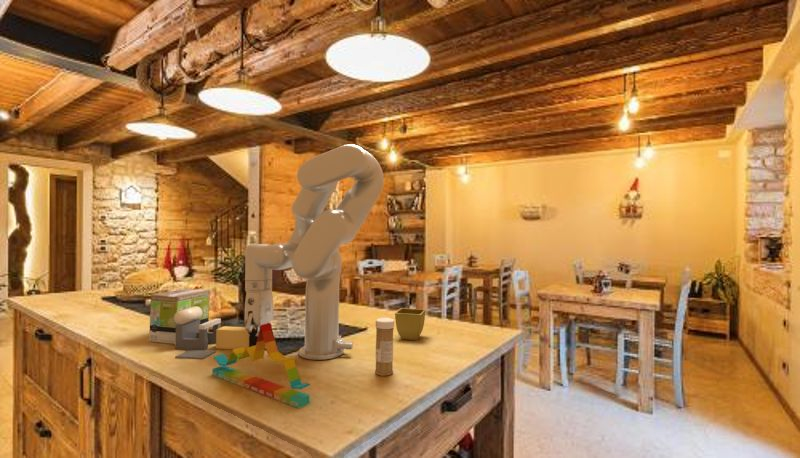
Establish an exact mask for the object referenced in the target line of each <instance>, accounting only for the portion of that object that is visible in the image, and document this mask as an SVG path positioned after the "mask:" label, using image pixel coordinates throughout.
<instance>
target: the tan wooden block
mask: <svg viewBox="0 0 800 458" xmlns="http://www.w3.org/2000/svg"><path fill="white" fill-rule="evenodd" d="M245 327H246V326H244V327H243V326H227V325H226V326H221V328H219V329H217V330H216V343H215V348H216V349H223V350H233V349H237V348H241V347H243V348H244V349H246V348H248V347H249V336H248V331H246V330H245ZM253 328H254V329H255V330H256V327H253ZM265 349H266V347H265Z"/></svg>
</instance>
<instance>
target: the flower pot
mask: <svg viewBox="0 0 800 458" xmlns="http://www.w3.org/2000/svg"><path fill="white" fill-rule="evenodd" d="M394 317H395V318H394V319H395V320H394V321H395V326H396V331H397V333H398V335H399V337H400V338H401V340H413V341H417V340H418V339H419V338H420V336H421V334H422V332H423V330H424V326H425V319H426V318H425V317H426V309H423V308H407V307H401V308H399V309H397V310H396V312H394Z"/></svg>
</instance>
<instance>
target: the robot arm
mask: <svg viewBox="0 0 800 458" xmlns="http://www.w3.org/2000/svg"><path fill="white" fill-rule="evenodd" d="M384 177H385V176H384V172H383V168H382V167H381V164H380V163H379V161H378V160H377V159H376V157H374V155H373V154H371V153H369V151H367V150H365V149H364V148H362V147H361V146H359V145H356V144H344V145H341V146H337V147H336V148H333V149H330V150H328V151H325V152H324V153H320V154H317V155H315V156H313V157H310V158H308V159H307V160H305V161H303V162H302V163H301V165H299V167H298V170H297V174H296V178H297V182H298V183H299V185H300V186H301V188H300V189H299V192H298V193H297V196H296V198H295V199H294V202H293V203H292V205H291V208H290V211H291V212H292V215H293V217H294V220H295V221H294V229H293V230H292V233H291V235H290V237H289V239H288V240H287V242H284V243H283V242H282V243H273V244H269V243H251V244H248V245H247V246H246V247H245V258H244V259H245V266H244V267H245V268H244V270H245V272H244V274H245V275H244V276H245V278H244V280H245V281H244V283H245V284H244V286H245V287H244V291H245V294H246V295H245V299H244V300H245V301H244V324H245V326H244V327H245V330H246V331H248V336H249V347H251V346H255V345H256V344H257V339H258V335H259V330H260V326H261V325H263V324H268V323H271V321H273V320H274V318H275V317H274V296H273V291H272V290H273V270H274V271H281V270H286V269H290V268H292V269H293V271H294V274H296V276H298V277H299V278H301V279H303V280H306V284H305V296H304V297H305V299H304V300H305V304H304V308H305V309H304V311H305V312H304V346H302V347H300V348H299V350H298V355H299V357H300V358H303V359H306V360H312V361H313V360H314V361H316V360H317V361H321V360H324V361H325V360H330V359H335V358H338V357H340V356H342V355H344V352H345V351H344V350H353V348H354V343H353V342H351V340H343V339H342V335H339V331H340V330H339V328H340V327H339V326H340V325H339V324H340V323H339V322H340V321H339V318H340V317H339V316H340V315H339V314H340V286H341V285H340V282H341V274H342V267H343V266H342V265H343V258H342V254H341V252H340V249H339V248H340V247H341V246H343V245H347V244H350V243H351V242H353V240H354V239H355V238H356V237H357V234H358V233H359V231H360V229H361V228H362V226H363V225H364V223H365V222H366V220H367V218H368V216H369V215H370V213H371V211H372V210H373V208H374V206H375V204H376V203H377V201H378V199H379V198H380V196H381V193H382V191H383V188H384V184H385V181H384ZM349 178H350V179H353V180H354V182H353V184H352V186H351V187H350V188H349V189H348V190H347V191H346V193H345V194H344V196H343V198H342V200H341V201H340V203H339V204H338V206H337V207H336V209H328V210H325V209H326V206H327V204H328V203H329V201H330V199H331V197H332V196H333V194H334V191H335V190H336V188H337V186H338V183H339V181H342V180H345V179H349ZM324 210H325V211H324ZM254 328H256V330H255V329H254Z"/></svg>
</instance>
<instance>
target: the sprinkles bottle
mask: <svg viewBox="0 0 800 458" xmlns="http://www.w3.org/2000/svg"><path fill="white" fill-rule="evenodd" d="M375 328H376V334H375V335H376V336H375V337H376V338H375V339H376V340H375V370H374V372H375V374H376V375H377V376H381V377H385V376H391V375H392V374H393V373H394V369H393V367H394V366H393V361H394V328H395V320H394V319H393V318H390V317H379V318H377V319H375Z"/></svg>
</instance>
